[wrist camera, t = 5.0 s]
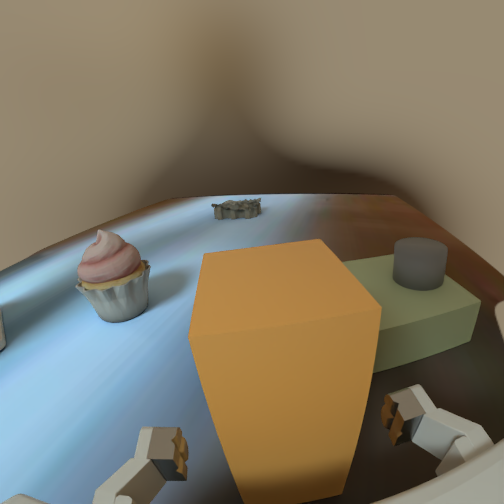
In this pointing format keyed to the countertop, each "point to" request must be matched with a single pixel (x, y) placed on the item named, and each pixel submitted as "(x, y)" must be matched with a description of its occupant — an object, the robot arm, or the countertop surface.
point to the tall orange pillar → (284, 366)
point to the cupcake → (114, 278)
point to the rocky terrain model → (237, 209)
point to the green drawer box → (416, 302)
